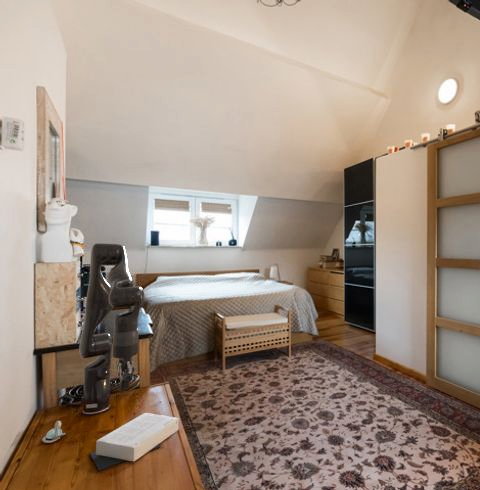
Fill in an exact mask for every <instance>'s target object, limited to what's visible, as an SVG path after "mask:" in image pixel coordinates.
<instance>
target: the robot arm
mask: <svg viewBox="0 0 480 490" xmlns="http://www.w3.org/2000/svg"><path fill="white" fill-rule="evenodd" d="M89 261H90V265H89V281H88V288H87V293H86V300H85V311H84V312H85V313H84V322H83V325H82V332H81V335H80V341H79V347H78V351H79V355H80V357H81V358H82V359H90V358H96V357H97V358H96V359H94V360H93V361H91V362H89V363H88V364H86V365H85V366H84V367H83V387H82V388H83V389H82V396H81V402H79V403H73V402H74V398H73V397H71V396H69V395H61V396H60V397H59V400H62V399H68V400H70V401H68V405H70V406H73V407H76V406H82V414H83V415H85V416H93V415H98V414H102V413H105V412H106V411H108V410H109V409H110V408H111V404H110V403H111V364H112V357H113V358H114V359H118V360H116V361H115V363H116V368H117V376H118V377H119V380H120V391H122V392H124V391H128V390H129V389H130V380H132V379H133V375H134V373H135V369H136V368H135V367H133V365H134V360H133V357H134V356H136V355H138V353H139V315H140V311H141V307H142V305H143V302H144V300H145V290H144V289H143V288H142V287H141V286H134V281H133V279H132V277H131V274H130V272H129V265H128V258H127V253H126V249H125V246H123V245H122V244H121V243H108V242H96V243H94V244H93V245H92V246H91V250H90V260H89ZM103 266H105V267H106V266H108V267H109V266H112V268H111V269H110V270H109V272H108V273H107V280H106V279H105V277H104V275H103V273H102V271H101V269H102V267H103ZM107 281H108V282H107ZM128 307H129V309H128V310H127V311H124V312H120V313H118V314H116V315H115V316H114V319H113V334H112V335H113V336H111V335H110V333H108V332H105V333H100V334H99V333H98V334H95V333H96V330H97V328H98V327H99V326H100V325H101V323H102V322H103V321H104V320H105V319H106V318H107V317H108V316H109V315H110V313H111V312H112V310H113V308H117V309H119V308H128Z"/></svg>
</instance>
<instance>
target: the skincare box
mask: <svg viewBox="0 0 480 490" xmlns="http://www.w3.org/2000/svg"><path fill="white" fill-rule="evenodd" d="M179 423H180V418H179V417H175V416H168V415H162V414H156V413H150V412H144V413H142V414H140V415H138V416H136V417H135V418H133V419H131V420H130V421H128V422H126V423H125V424H123V425H120V426H119V427H118V428H116V429H115V430H113V431H111V432H109V433H107V434H106V435H104V436H102V437H101V438H99V439H97V440H96V441H95V451H96V454H97V455H102V456H107V457H113V458H118V459H123V460H127V461H129V462H136V461H138V460H139V459H140V458H141V457H143V456H144V455H145V454H148V453H149V452H148V451H149V450H151V449H152V448H154V447H155V446H156V445H160V444H161V443H163V442H164V441H165V440H166V439H168V438H169V437H170V436H173V434H174V433H176V432H178V431H179V429H180V424H179ZM147 452H148V453H147Z"/></svg>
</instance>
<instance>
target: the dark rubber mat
mask: <svg viewBox="0 0 480 490" xmlns="http://www.w3.org/2000/svg"><path fill="white" fill-rule="evenodd" d="M160 448H161V446H160V444H158V445H156V446H155V447H154V448H152V449H151V450H149V451H148V452H147V453H146V454H148V453H150V452H153V451H155V450H158V449H160ZM89 455H90V458H91V459H92V461H93V463H94V465H95V466H96V468H97V470H98V472H102V471H104V470H107V469H109V468H112V467H114V466H117V465H120V464H122V463H125V462H127V461H128V460H123V459H118V458H113V457H107V456H102V455H97V454H96V450H95V451H92V452H90V453H89Z"/></svg>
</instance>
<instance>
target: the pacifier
mask: <svg viewBox="0 0 480 490" xmlns="http://www.w3.org/2000/svg"><path fill="white" fill-rule="evenodd" d="M61 427H62V422H61V420H57V421H56V422H55V424H54V427H53V428H51V429H50V430H49V431H47V433H46V435H45V436H44V437H43V438H42V439H41V440H42V442H43V443H45V444H51V443H55V442H56V441H58V440H60V439H61V437H62V436H64V435H66V432H63V429H62V428H61Z"/></svg>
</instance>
